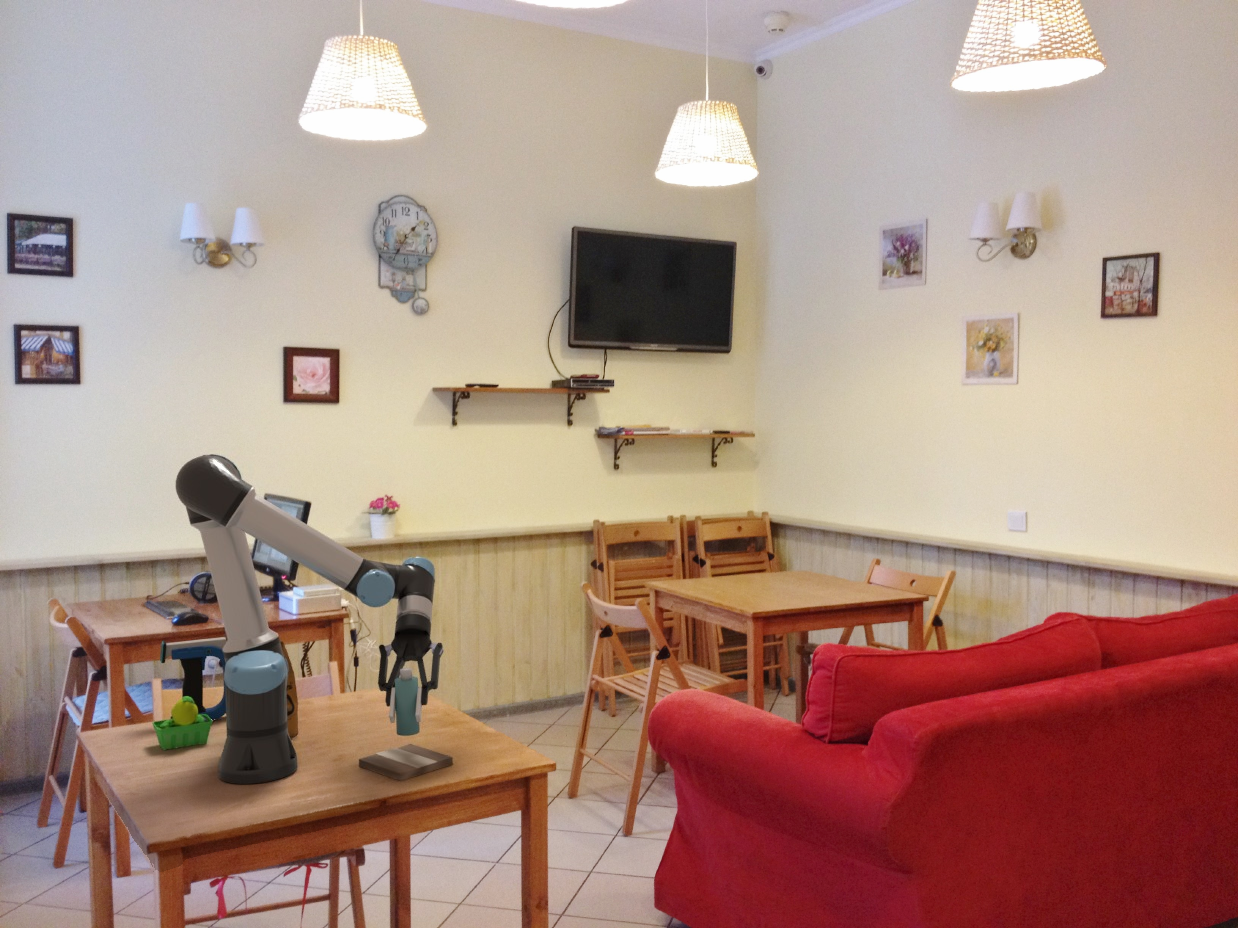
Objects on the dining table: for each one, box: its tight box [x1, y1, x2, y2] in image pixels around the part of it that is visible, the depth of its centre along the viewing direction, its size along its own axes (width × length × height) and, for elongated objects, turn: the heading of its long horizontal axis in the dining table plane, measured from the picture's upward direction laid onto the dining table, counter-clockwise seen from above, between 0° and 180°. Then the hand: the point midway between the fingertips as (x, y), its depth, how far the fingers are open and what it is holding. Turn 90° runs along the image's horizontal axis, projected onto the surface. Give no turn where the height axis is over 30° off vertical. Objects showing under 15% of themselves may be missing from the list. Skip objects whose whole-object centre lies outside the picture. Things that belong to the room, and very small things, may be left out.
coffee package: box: [280, 640, 299, 738], centre depth 238 cm, size 10×12×22 cm
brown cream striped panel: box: [358, 743, 454, 782], centre depth 216 cm, size 13×14×2 cm
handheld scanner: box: [159, 636, 228, 720], centre depth 251 cm, size 5×16×20 cm, turn 115°
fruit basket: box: [152, 696, 214, 751], centre depth 232 cm, size 11×9×11 cm
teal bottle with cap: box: [395, 667, 421, 737], centre depth 216 cm, size 5×5×13 cm
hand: (404, 718), depth 212 cm, fingers closed on teal bottle with cap, 4 cm apart
